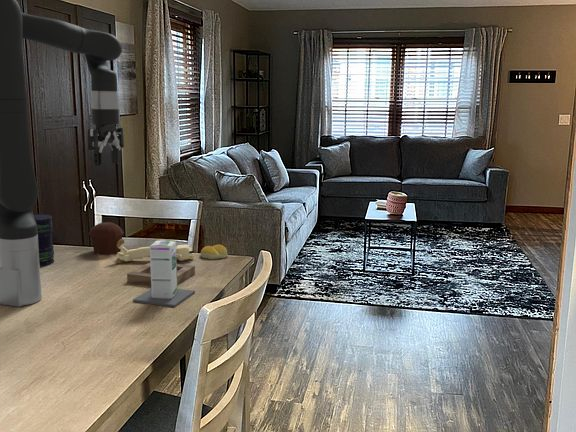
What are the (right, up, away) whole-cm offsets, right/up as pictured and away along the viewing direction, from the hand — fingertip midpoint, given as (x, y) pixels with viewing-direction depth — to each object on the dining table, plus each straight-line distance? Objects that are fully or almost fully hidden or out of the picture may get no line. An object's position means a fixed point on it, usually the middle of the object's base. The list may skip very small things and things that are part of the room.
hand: (107, 164), depth 167 cm
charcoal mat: (+19, -37, -13) cm, 43 cm away
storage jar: (-27, -30, +16) cm, 44 cm away
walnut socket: (+15, -33, +4) cm, 37 cm away
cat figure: (+9, -30, +22) cm, 39 cm away
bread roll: (+27, -29, +30) cm, 50 cm away
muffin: (-10, -27, +32) cm, 43 cm away
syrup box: (+19, -36, -13) cm, 43 cm away
